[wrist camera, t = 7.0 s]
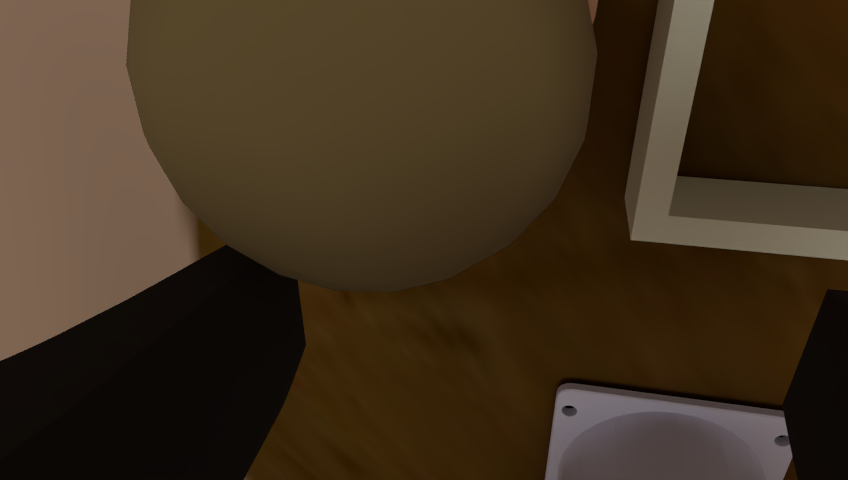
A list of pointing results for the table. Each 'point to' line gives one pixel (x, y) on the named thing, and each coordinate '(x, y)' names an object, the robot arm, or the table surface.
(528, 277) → the table surface
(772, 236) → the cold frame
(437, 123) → the brown tapered cylinder
